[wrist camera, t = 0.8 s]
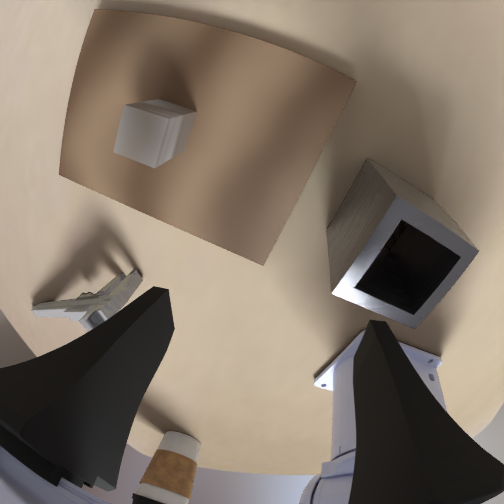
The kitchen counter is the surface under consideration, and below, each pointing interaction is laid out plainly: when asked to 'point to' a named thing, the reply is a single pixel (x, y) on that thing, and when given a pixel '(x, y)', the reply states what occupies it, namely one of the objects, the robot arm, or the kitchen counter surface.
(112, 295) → the caliper
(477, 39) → the kitchen counter surface
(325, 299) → the kitchen counter surface
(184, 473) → the coffee cup
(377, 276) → the steel collar
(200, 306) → the kitchen counter surface
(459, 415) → the kitchen counter surface
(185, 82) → the post base
